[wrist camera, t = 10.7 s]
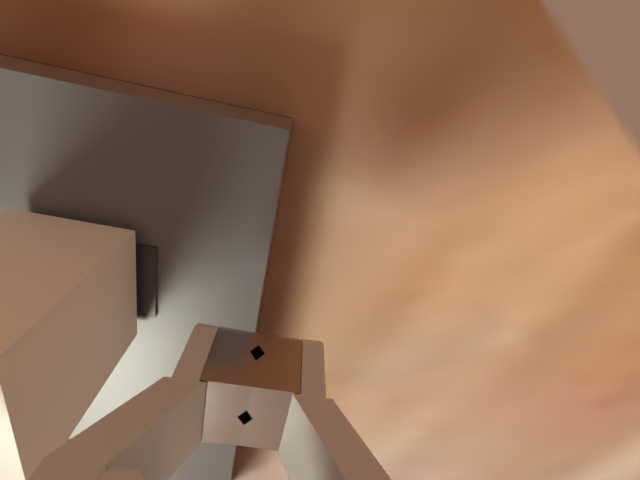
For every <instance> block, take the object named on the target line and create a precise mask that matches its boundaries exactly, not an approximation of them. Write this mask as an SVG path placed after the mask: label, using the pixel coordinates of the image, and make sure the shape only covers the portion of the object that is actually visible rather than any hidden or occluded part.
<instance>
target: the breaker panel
mask: <svg viewBox="0 0 640 480" xmlns="http://www.w3.org/2000/svg"><path fill="white" fill-rule="evenodd" d="M292 124H293V118H288V117H284V116H279V115H274V114H270V113H265V112H261V111H256V110H252V109H247V108H243V107H238V106H233V105H229V104H224V103H220V102H215V101H211V100H206V99H201V98H197V97H192V96H188V95H183V94H179V93H174V92H169V91H165V90H160V89H156V88H151V87H147V86H142V85H138V84H133V83H128V82H124V81H119V80H115V79H110V78H106V77H101V76H96V75H92V74H87V73H83V72H78V71H74V70H69V69H64V68H60V67H55V66H51V65H46V64H42V63H37V62H33V61H28V60H23V59H19V58H14V57H10V56H5V55H1V54H0V214H1V213H3V212H6V211H8V210H10V209H15V210H21V211H26V212H32V213H38V214H43V215H49V216H55V217H60V218H66V219H72V220H77V221H83V222H89V223H94V224H100V225H106V226H111V227H117V228H123V229H128V230H134V231H135V242H136V294H137V335H136V337H135V338H134V340H133V341H132V343H131V344H130V346H129V347H128V349H127V350H126V352H125V353H124V355H123V356H122V358H121V360H120V361H119V363H118V364H117V366H116V367H115V369H114V370H113V372H112V373H111V375H110V376H109V378H108V379H107V381H106V382H105V384H104V385H103V387H102V388H101V390H100V391H99V393H98V395H97V396H96V398H95V399H94V401H93V402H92V404H91V405H90V407H89V408H88V410H87V411H86V413H85V414H84V416H83V417H82V419H81V420H80V422H79V423H78V425H77V426H76V428H75V430H74V431H73V433H72V434H71V436H70V437H69V439H68V440H67V441H69V440H70V439H72V438H73V437H75V436H76V435H78V434H79V433H81V432H82V431H84V430H85V429H87V428H88V427H90V426H91V425H93V424H94V423H96V422H97V421H98V420H100V419H101V418H103V417H104V416H106V415H107V414H109V413H110V412H112V411H113V410H115V409H116V408H118V407H119V406H121V405H122V404H124V403H125V402H127V401H128V400H130V399H131V398H133V397H134V396H136V395H137V394H139V393H140V392H142V391H143V390H145V389H146V388H148V387H149V386H151V385H152V384H154V383H155V382H157V381H158V380H160V379H161V378H163V377H164V376H165V377H172V375H173V373H174V370H175V368H176V366H177V364H178V362H179V359H180V357H181V355H182V353H183V351H184V348H185V346H186V344H187V342H188V340H189V337H190V335H191V333H192V331H193V329H194V327H195V326H196V325H197V323H202V324H207V325H213V326H218V327H220V326H221V327H227V328H232V329H238V330H244V331H249V332H255V333H257V328H258V322H259V316H260V311H261V305H262V299H263V293H264V287H265V281H266V276H267V270H268V264H269V258H270V252H271V246H272V240H273V235H274V229H275V223H276V217H277V211H278V205H279V200H280V194H281V188H282V182H283V176H284V170H285V164H286V159H287V153H288V147H289V141H290V135H291V129H292ZM236 451H237V445H228V444H217V443H205V442H200V445H199V447H198V448H197V449H196V450H195V451H194V452H193V453H192V454H191V455H190V456H189V457H188V458H187V460H186V461H185V462H184V463H183V464H182V465H181V466H180V467H179V468H178V469H177V470H176V471H175V472H174V474H173V475H172V476H171V477H170V478H169V479H168V480H232V474H233V469H234V463H235V457H236Z"/></svg>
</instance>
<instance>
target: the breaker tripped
mask: <svg viewBox="0 0 640 480" xmlns="http://www.w3.org/2000/svg"><path fill="white" fill-rule="evenodd" d="M136 335H137V294H136V242H135V231H134V230H128V229H123V228H117V227H111V226H106V225H100V224H94V223H89V222H83V221H77V220H72V219H66V218H60V217H55V216H49V215H43V214H38V213H32V212H26V211H21V210H15V209H10V210H8V211H6V212H3V213H1V214H0V480H29V478H30V477H31V475H32V474H33V472H34V471H35V469H36V468H37V467H38V465H39V464H40V462H41V461H42V459H43V458H44V457H45V456H46V455H48V454H49V453H51V452H52V451H54V450H55V449H57V448H58V447H60V446H61V445H63V444H64V443H66V442H67V440H68V439H69V437H70V436H71V434H72V433H73V431H74V430H75V428H76V426H77V425H78V423H79V422H80V420H81V419H82V417H83V416H84V414H85V413H86V411H87V410H88V408H89V407H90V405H91V404H92V402H93V401H94V399H95V398H96V396H97V395H98V393H99V391H100V390H101V388H102V387H103V385H104V384H105V382H106V381H107V379H108V378H109V376H110V375H111V373H112V372H113V370H114V369H115V367H116V366H117V364H118V363H119V361H120V360H121V358H122V356H123V355H124V353H125V352H126V350H127V349H128V347H129V346H130V344H131V343H132V341H133V340H134V338H135V337H136Z"/></svg>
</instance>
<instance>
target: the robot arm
mask: <svg viewBox="0 0 640 480" xmlns="http://www.w3.org/2000/svg"><path fill="white" fill-rule="evenodd" d="M200 442H205V443H217V444H228V445H240V446H247V447H253V448H260V449H267V450H274V451H278V454H279V457H280V459H281V461H282V464H283V466H284V468H285V471H286V473H287V476H288V478H289V480H391V479H390V477H389V476H388V474H387V473H386V472H385V470H384V469H383V468H382V466H381V465H380V463H379V462H378V461H377V459H376V458H375V457H374V455H373V454H372V453H371V451H370V450H369V448H368V447H367V446H366V444H365V443H364V442H363V440H362V439H361V437H360V436H359V435H358V433H357V432H356V431H355V429H354V428H353V426H352V425H351V424H350V422H349V421H348V420H347V418H346V417H345V416H344V414H343V413H342V411H341V410H340V409H339V407H338V406H337V405H336V403H335V402H334V400H333V399H329V398H326V386H325V364H324V345H323V343H322V342H320V341H313V340H305V339H302V340H301V339H296V338H289V337H282V336H275V335H268V334H261V333H255V332H249V331H244V330H238V329H232V328H227V327H221V326H220V327H218V326H213V325H207V324H202V323H197V325H196V326H195V327H194V329H193V331H192V333H191V335H190V337H189V340H188V342H187V344H186V346H185V348H184V351H183V353H182V355H181V357H180V359H179V362H178V364H177V366H176V368H175V370H174V373H173V375H172V377H165V376H164V377H163V378H161V379H160V380H158V381H157V382H155V383H154V384H152V385H151V386H149V387H148V388H146V389H145V390H143V391H142V392H140V393H139V394H137V395H136V396H134V397H133V398H131V399H130V400H128V401H127V402H125V403H124V404H122V405H121V406H119V407H118V408H116V409H115V410H113V411H112V412H110V413H109V414H107V415H106V416H104V417H103V418H101V419H100V420H98V421H97V422H96V423H94V424H93V425H91V426H90V427H88V428H87V429H85V430H84V431H82V432H81V433H79V434H78V435H76V436H75V437H73V438H72V439H70V440H69V441H67V442H66V443H64V444H63V445H61V446H60V447H58V448H57V449H55V450H54V451H52V452H51V453H49V454H48V455H46V456H45V457H44V458H43V459H42V461H41V462H40V464H39V465H38V467H37V468H36V469H35V471H34V472H33V474H32V475H31V477H30V478H29V480H168V479H169V478H170V477H171V476H172V475H173V474H174V472H175V471H176V470H177V469H178V468H179V467H180V466H181V465H182V464H183V463H184V462H185V461H186V460H187V458H188V457H189V456H190V455H191V454H192V453H193V452H194V451H195V450H196V449H197V448H198V447H199V445H200Z"/></svg>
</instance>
